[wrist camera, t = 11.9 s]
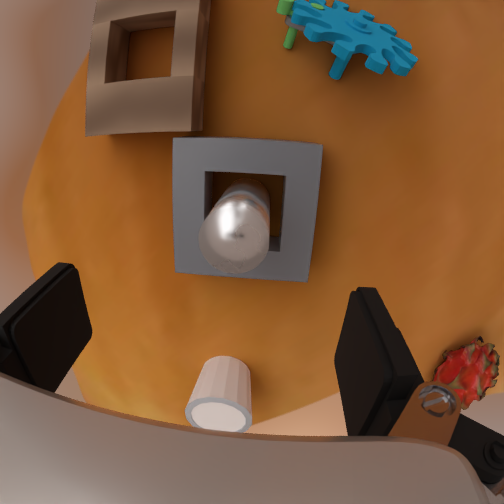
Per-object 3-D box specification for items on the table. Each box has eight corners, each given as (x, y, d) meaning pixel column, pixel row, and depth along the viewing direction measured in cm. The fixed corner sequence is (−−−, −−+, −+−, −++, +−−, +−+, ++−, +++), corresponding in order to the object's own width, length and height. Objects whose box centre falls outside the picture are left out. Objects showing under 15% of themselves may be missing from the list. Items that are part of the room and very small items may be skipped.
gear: (422, 36, 19) (419, 82, 15) (393, 81, 24) (377, 139, 20) (306, -21, 19) (256, 3, 15) (289, 28, 24) (240, 70, 20)
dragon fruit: (480, 314, 32) (425, 373, 38) (463, 328, 27) (398, 393, 33) (518, 358, 26) (457, 413, 32) (509, 382, 22) (435, 441, 28)
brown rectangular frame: (119, -2, 20) (100, -16, 16) (212, -15, 20) (203, -34, 16) (108, 133, 25) (85, 136, 22) (202, 130, 25) (190, 131, 21)
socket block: (185, 136, 25) (172, 137, 22) (316, 143, 25) (323, 145, 22) (185, 256, 29) (175, 272, 26) (303, 264, 29) (307, 282, 26)
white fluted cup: (267, 381, 35) (265, 427, 28) (220, 398, 37) (212, 442, 30) (233, 342, 33) (225, 389, 26) (185, 364, 35) (170, 408, 28)
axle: (224, 176, 26) (198, 204, 17) (271, 179, 26) (271, 209, 17) (223, 221, 28) (198, 270, 19) (268, 224, 28) (266, 276, 18)
